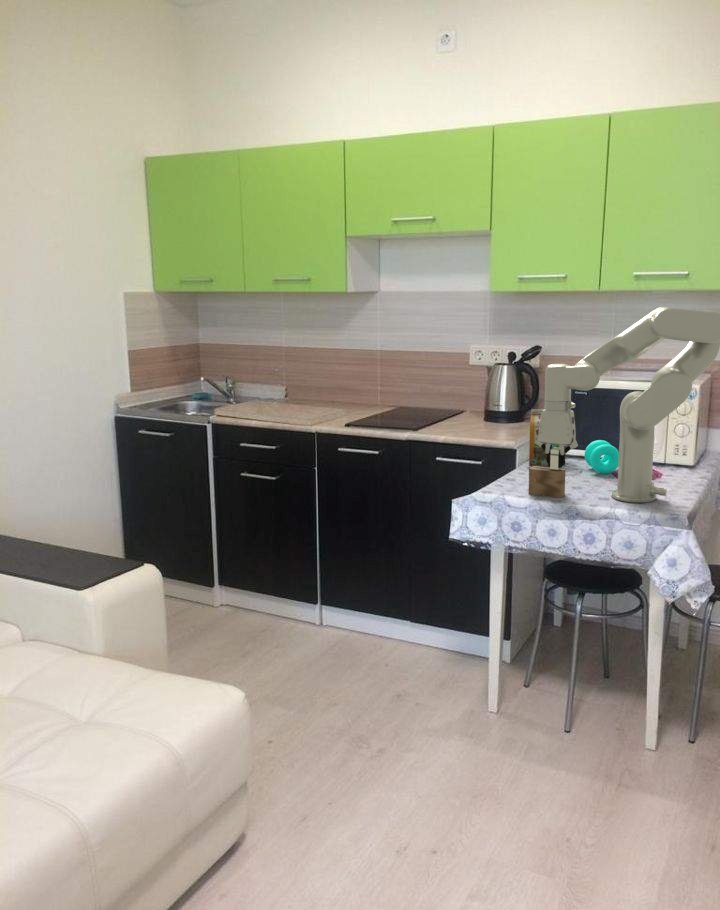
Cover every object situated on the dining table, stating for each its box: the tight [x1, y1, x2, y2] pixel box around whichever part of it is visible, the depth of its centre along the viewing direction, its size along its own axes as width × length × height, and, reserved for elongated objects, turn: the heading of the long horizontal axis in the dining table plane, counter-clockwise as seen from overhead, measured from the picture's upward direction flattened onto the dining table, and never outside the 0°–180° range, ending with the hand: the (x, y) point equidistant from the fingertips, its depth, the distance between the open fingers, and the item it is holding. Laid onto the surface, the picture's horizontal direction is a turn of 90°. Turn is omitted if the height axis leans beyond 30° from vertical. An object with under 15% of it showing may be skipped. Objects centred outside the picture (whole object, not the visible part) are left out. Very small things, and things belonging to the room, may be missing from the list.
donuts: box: [584, 439, 619, 475], centre depth 268 cm, size 10×10×10 cm
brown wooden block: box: [528, 466, 566, 499], centre depth 242 cm, size 10×4×8 cm, turn 58°
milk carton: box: [528, 409, 560, 467], centre depth 281 cm, size 11×11×19 cm
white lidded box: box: [549, 447, 561, 470], centre depth 239 cm, size 2×3×6 cm
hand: (555, 466), depth 239 cm, fingers closed on white lidded box, 2 cm apart
